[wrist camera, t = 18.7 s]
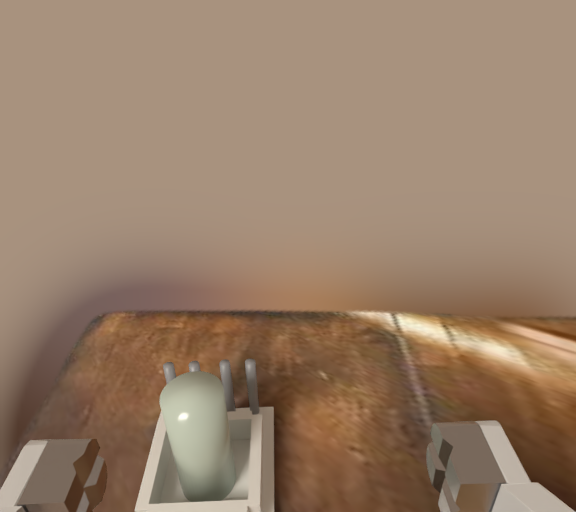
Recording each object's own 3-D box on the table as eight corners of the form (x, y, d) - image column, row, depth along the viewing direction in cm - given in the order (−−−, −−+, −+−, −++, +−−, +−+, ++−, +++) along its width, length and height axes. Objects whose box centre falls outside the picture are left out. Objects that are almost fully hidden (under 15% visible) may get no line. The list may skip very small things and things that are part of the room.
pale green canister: (238, 453, 44) (226, 370, 38) (233, 504, 40) (219, 418, 34) (186, 455, 44) (167, 372, 38) (176, 506, 40) (152, 421, 34)
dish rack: (273, 413, 49) (270, 357, 45) (274, 578, 36) (270, 520, 32) (162, 417, 49) (149, 362, 45) (120, 585, 35) (95, 528, 31)
